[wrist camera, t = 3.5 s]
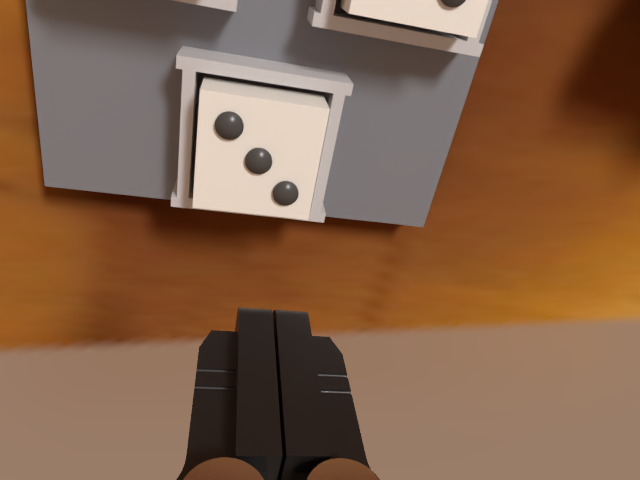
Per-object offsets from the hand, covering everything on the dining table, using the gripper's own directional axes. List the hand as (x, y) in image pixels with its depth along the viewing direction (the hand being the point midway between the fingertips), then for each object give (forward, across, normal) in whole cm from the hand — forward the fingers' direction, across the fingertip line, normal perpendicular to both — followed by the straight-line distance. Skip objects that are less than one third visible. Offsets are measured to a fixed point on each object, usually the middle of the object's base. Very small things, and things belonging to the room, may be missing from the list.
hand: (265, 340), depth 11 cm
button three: (+13, 0, 0) cm, 13 cm away
